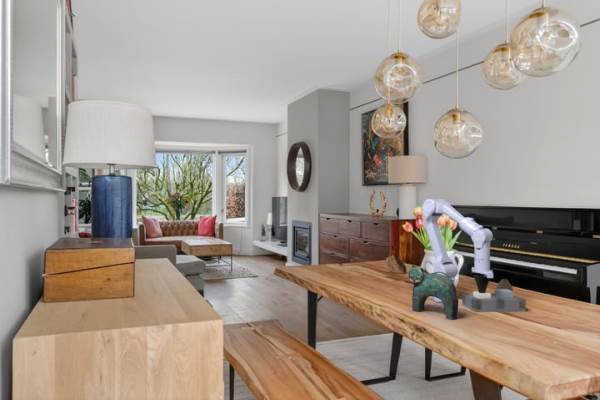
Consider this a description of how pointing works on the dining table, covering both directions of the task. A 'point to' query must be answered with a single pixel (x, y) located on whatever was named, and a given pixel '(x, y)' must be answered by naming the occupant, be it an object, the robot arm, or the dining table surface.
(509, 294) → the slate key
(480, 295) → the white block
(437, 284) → the ceramic cat
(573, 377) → the dining table surface
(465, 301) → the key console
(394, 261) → the decorative rock
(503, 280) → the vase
